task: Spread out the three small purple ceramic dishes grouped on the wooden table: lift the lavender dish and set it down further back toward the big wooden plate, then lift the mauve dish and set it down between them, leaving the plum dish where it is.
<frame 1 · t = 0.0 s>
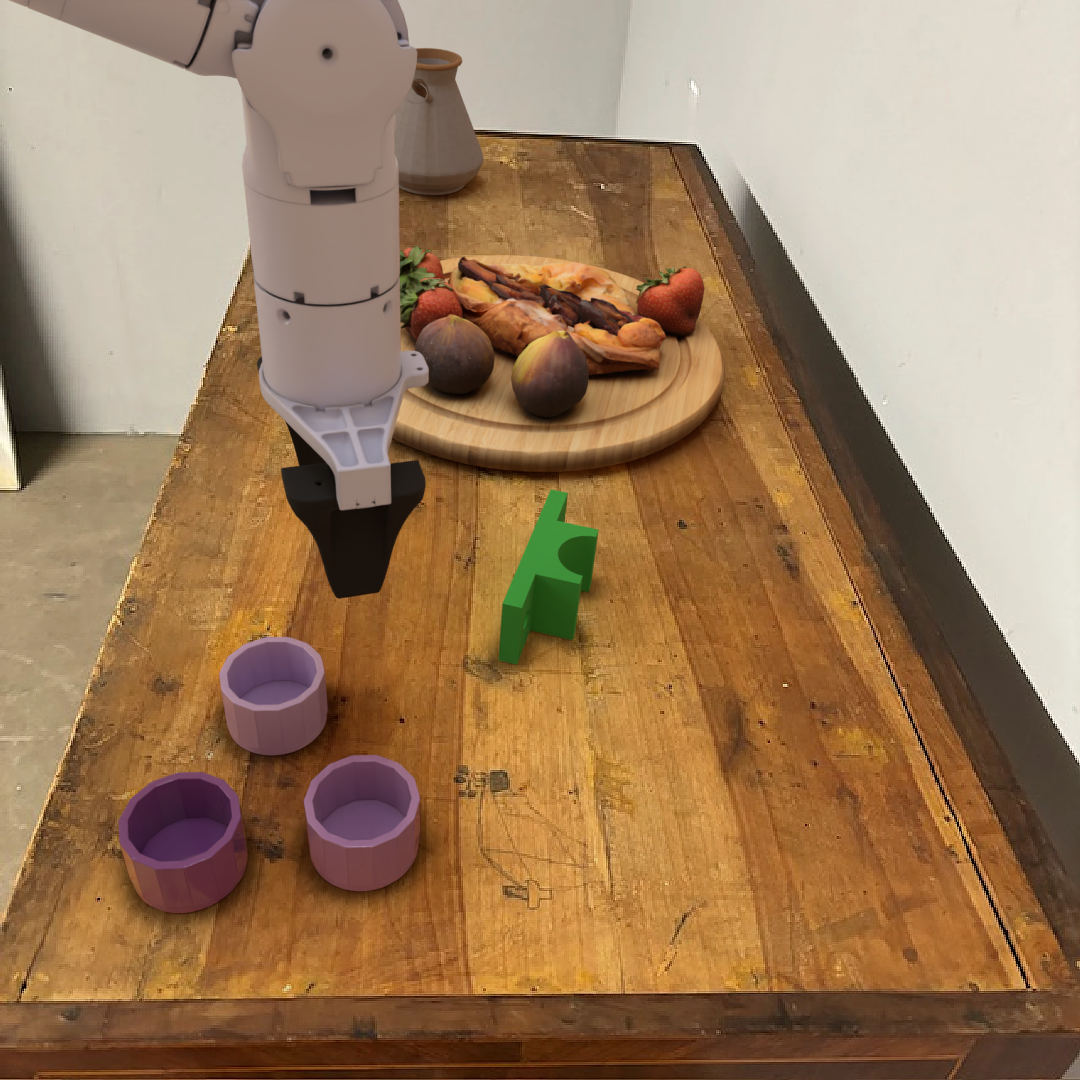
hand: (342, 538, 51), 12 cm above the table, tool pointing down, fingers open, 7 cm apart
lavender dish: (277, 717, 58), on the table
mauve dish: (364, 844, 52), on the table
pipe clamp: (550, 608, 66), on the table
coffee pot: (425, 201, 113), on the table
plum dish: (190, 863, 51), on the table
wooden plate: (525, 366, 88), on the table
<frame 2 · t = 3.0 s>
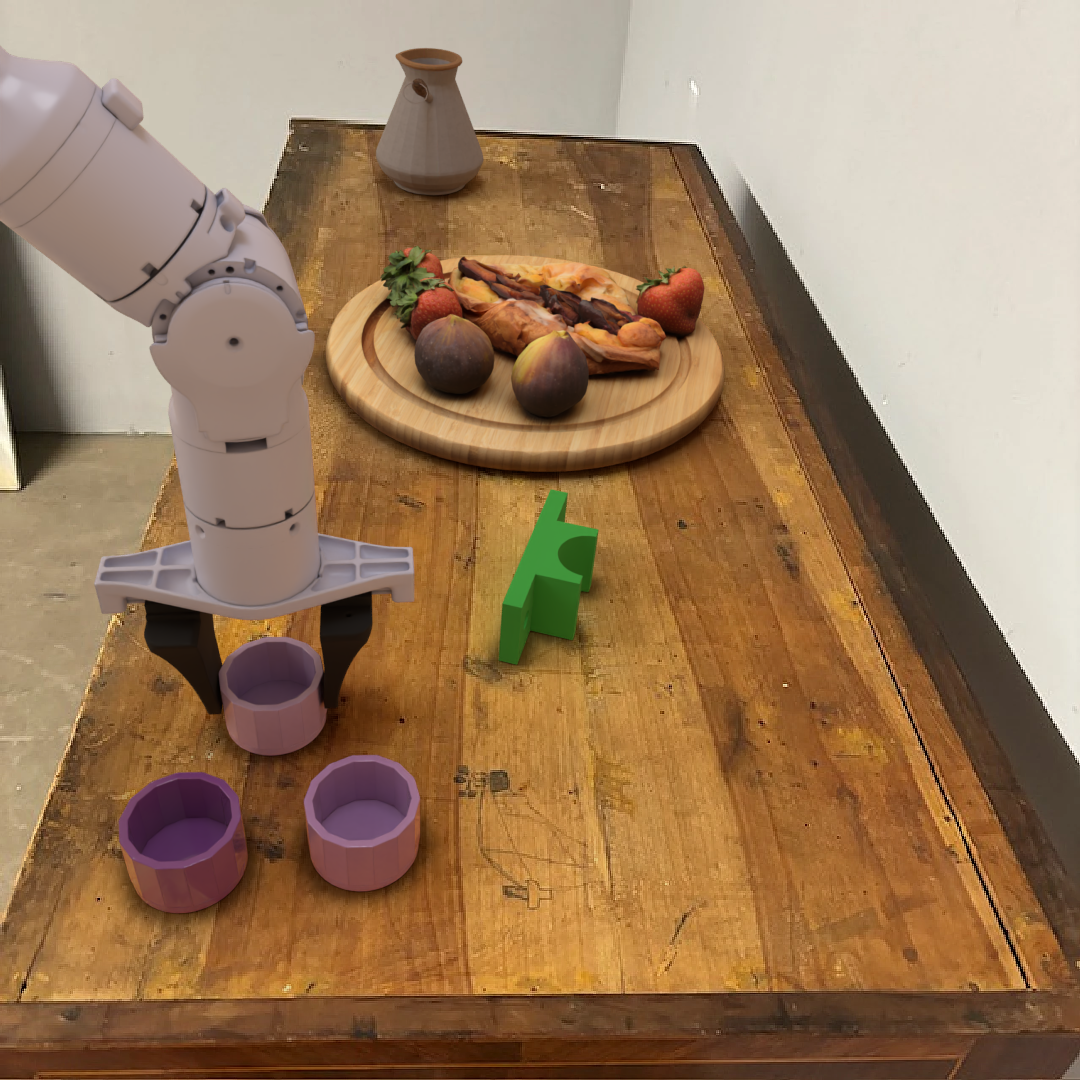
hand: (275, 697, 57), 2 cm above the table, tool pointing down, fingers closed on lavender dish, 5 cm apart
lavender dish: (277, 717, 58), on the table, touching gripper
everything else where it was.
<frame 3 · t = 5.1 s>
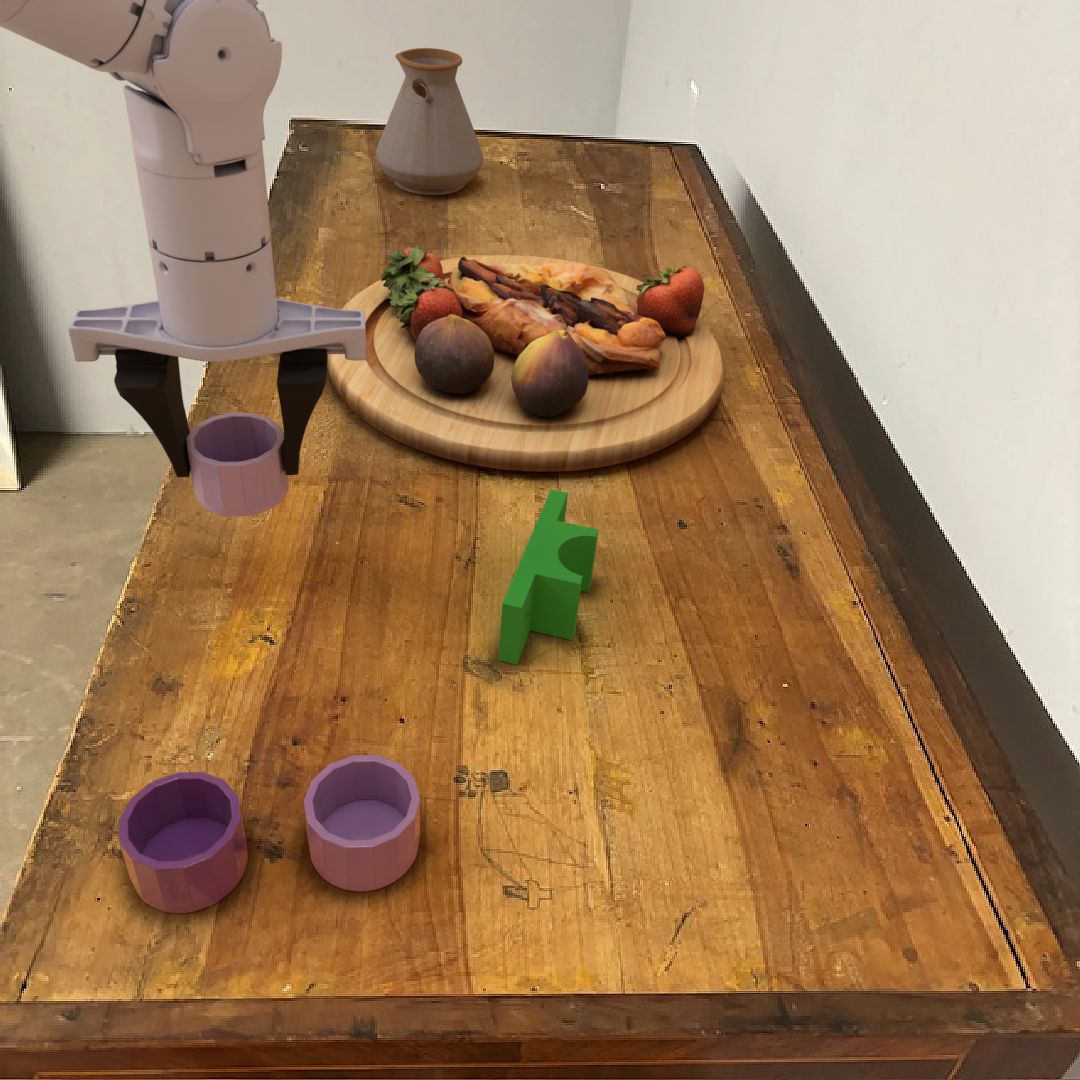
hand: (240, 465, 61), 8 cm above the table, tool pointing down, fingers closed on lavender dish, 5 cm apart
lavender dish: (242, 489, 62), point 7 cm above the table, touching gripper
everything else where it was.
when the fingers open (2 cm above the table, at t = 7.4 s): lavender dish stays where it is, on the table.
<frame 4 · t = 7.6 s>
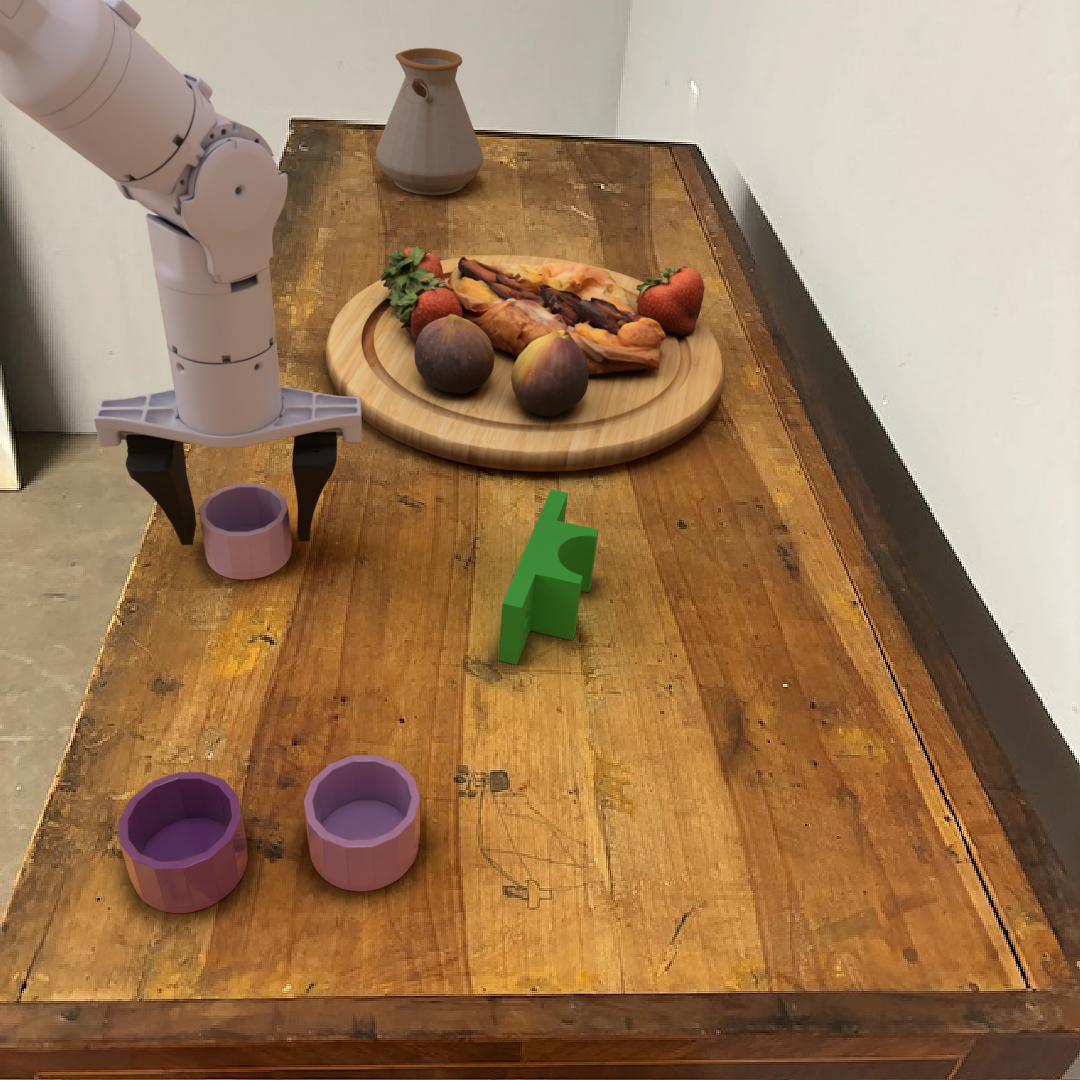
hand: (247, 533, 67), 2 cm above the table, tool pointing down, fingers open, 6 cm apart
lavender dish: (249, 552, 68), on the table
everything else where it was.
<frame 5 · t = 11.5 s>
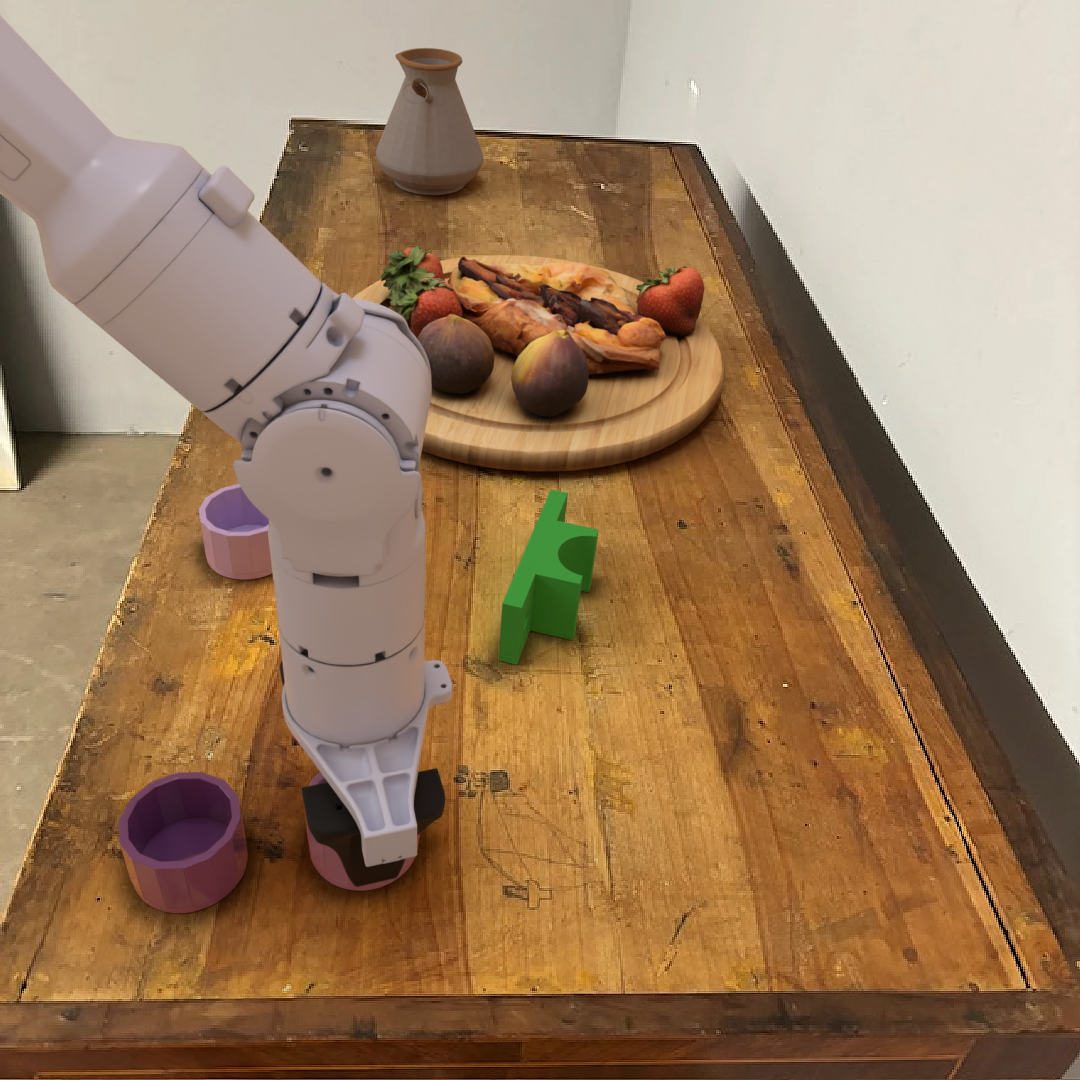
hand: (363, 823, 51), 2 cm above the table, tool pointing down, fingers closed on mauve dish, 5 cm apart
mauve dish: (364, 843, 52), on the table, touching gripper
everything else where it was.
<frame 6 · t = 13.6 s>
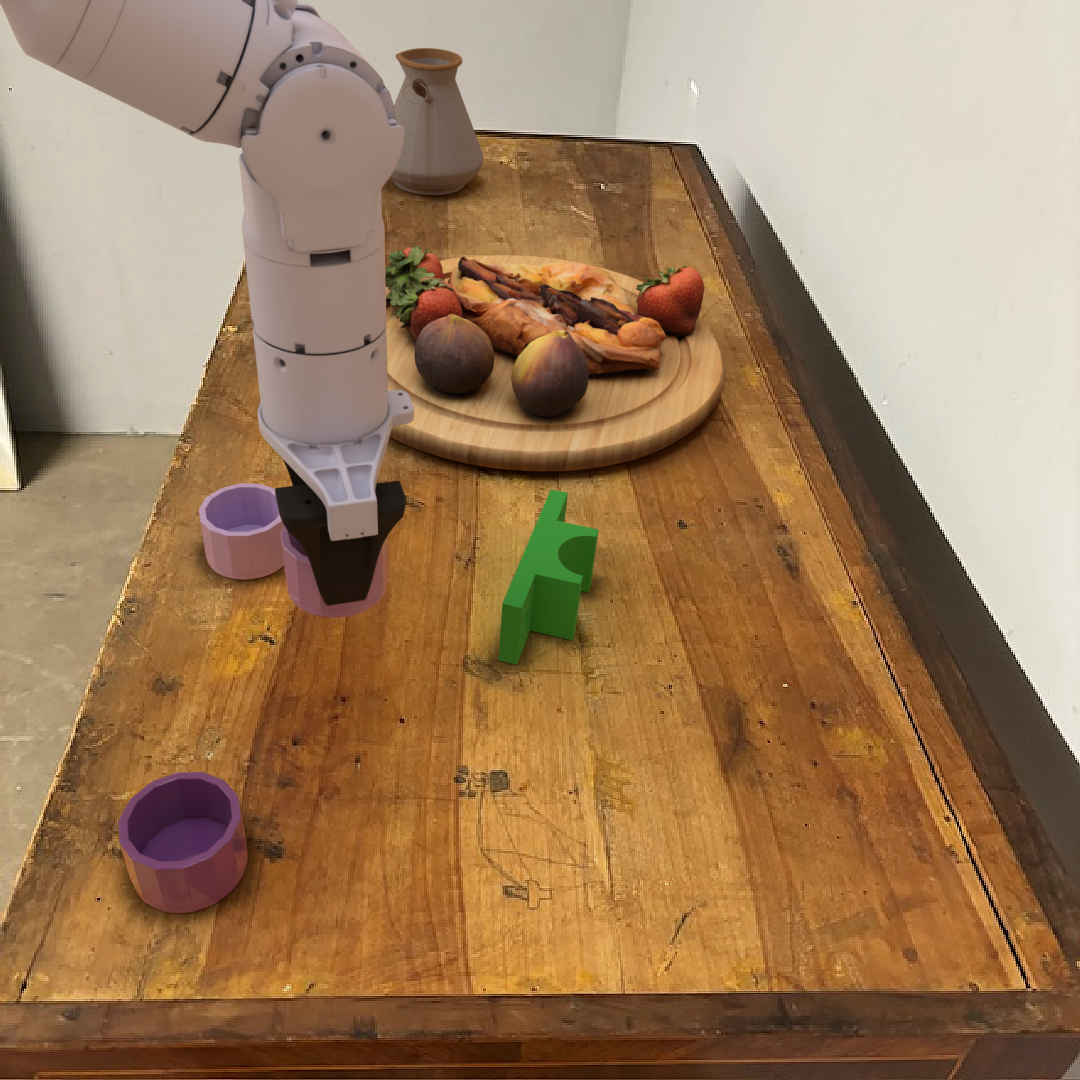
hand: (335, 561, 55), 8 cm above the table, tool pointing down, fingers closed on mauve dish, 5 cm apart
mauve dish: (337, 583, 56), point 7 cm above the table, touching gripper
everything else where it was.
when the fingers open (2 cm above the table, at t = 15.8 s): mauve dish stays where it is, on the table.
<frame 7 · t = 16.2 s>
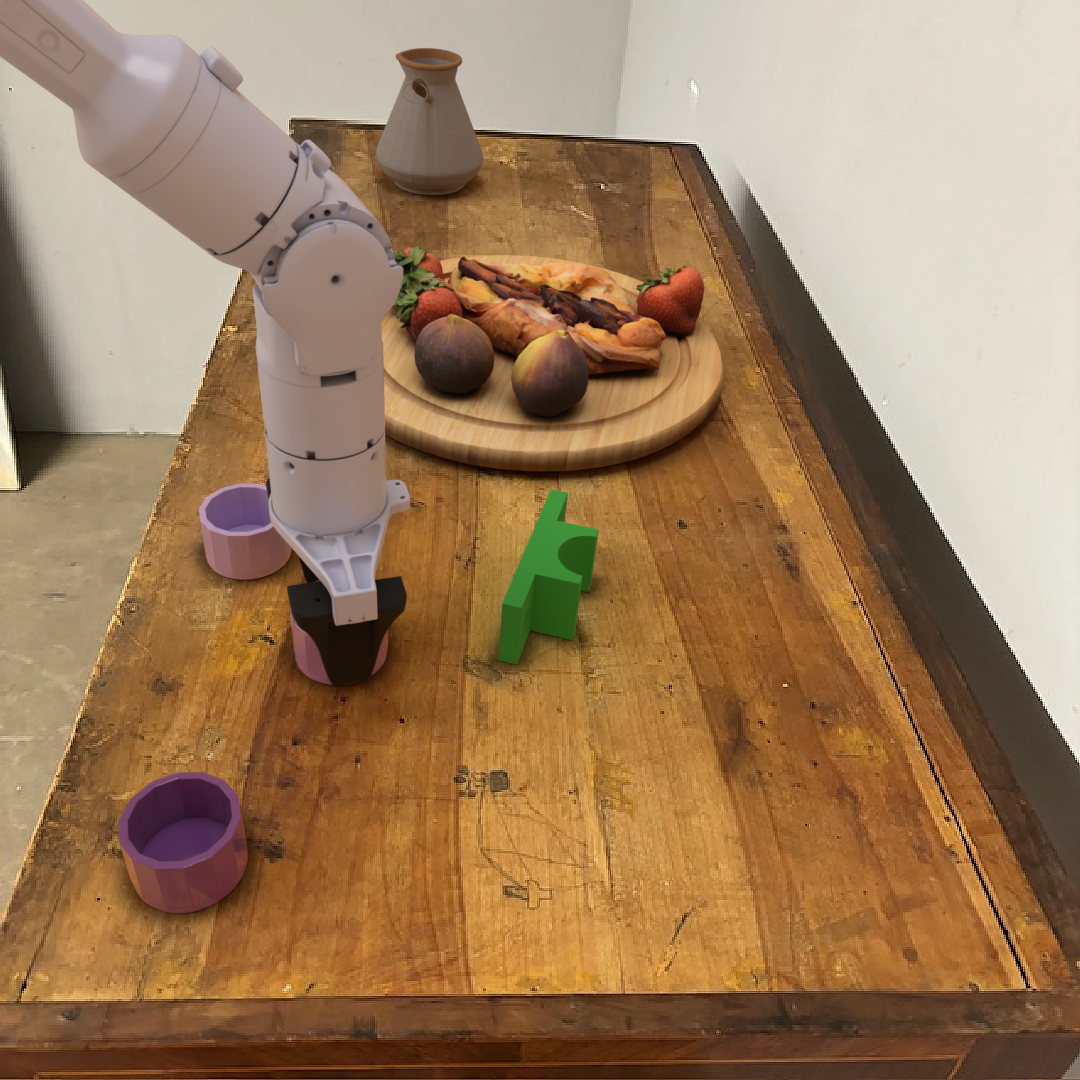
hand: (338, 629, 61), 2 cm above the table, tool pointing down, fingers open, 7 cm apart
mauve dish: (341, 652, 62), on the table
everything else where it was.
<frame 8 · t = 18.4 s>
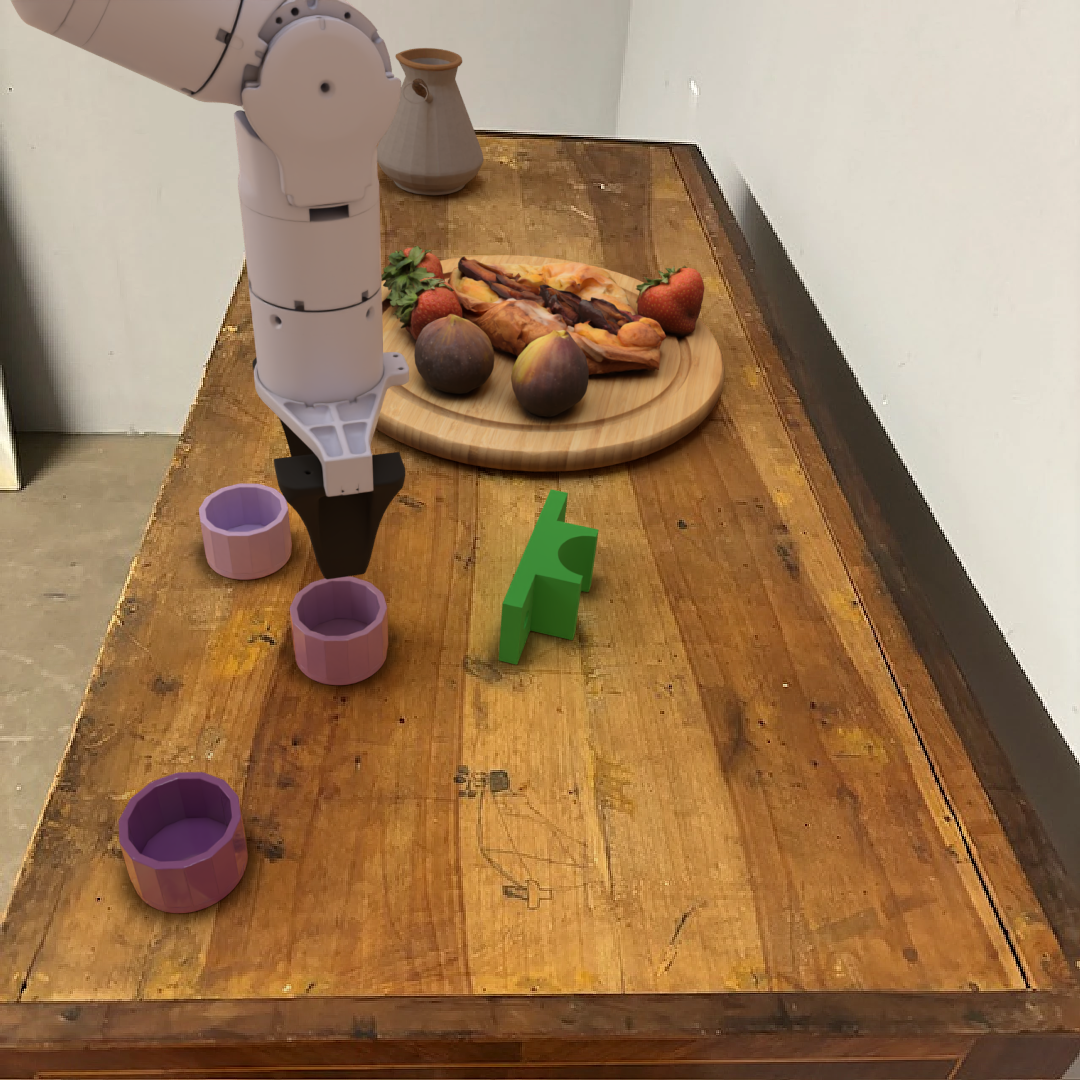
hand: (331, 524, 56), 9 cm above the table, tool pointing down, fingers open, 7 cm apart
nothing on the table moved.
at the end: lavender dish 0.0 cm from the target spot on the table beside the wooden plate, on the table; mauve dish 0.1 cm from the target spot, on the table; plum dish moved 0.0 cm from its start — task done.
